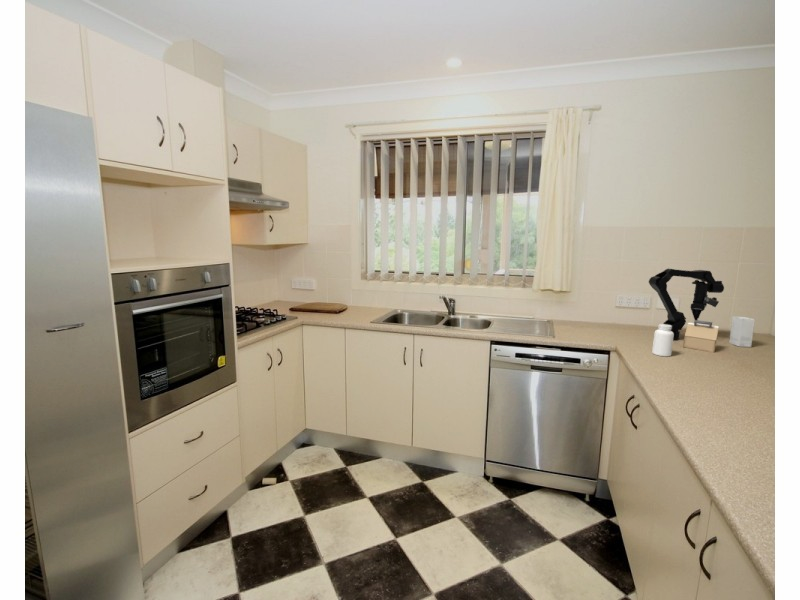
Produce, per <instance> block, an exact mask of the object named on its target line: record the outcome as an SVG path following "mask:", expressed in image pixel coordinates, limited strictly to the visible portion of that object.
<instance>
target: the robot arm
mask: <svg viewBox="0 0 800 600" xmlns="http://www.w3.org/2000/svg"><path fill="white" fill-rule="evenodd" d="M673 277H681V278H682V277H683V278H690V279H695V280H694V281H692V282H691V284H692V285H695V287H694V293H693V298H692V299H693V301H692V303H690V307H689V308H690V310H691V313H692V317H693V319H694V321H695V320H698V321H699V318H700V316H701V313H702V312H703V311H704V310H706V309H705V308H707V306H708V305H710V306H712V307H714V308H716V307H717V306H718V305H719V303H720V301H719V300H717V297H709V296H708V293H712V294H713V293H714V294H715V293H716V294H717V293H718V294H720V293H723V292H724V290H725V286H724V284H723V281H722V280H715V277H714V276H713V274H712V272H711V271H710V270H704V269H694V270H682V269H676V268H675V269H673V268H666V269H664V270H662V271H661V272H659V273H657V274H655V275H654V276H653V275H652V276H651V277H650V278H649V280H648V284H649V285H650V287H651V288H652V289H653V290H654V291H655V292H656V293H657V294H658V297H659V299H660V301H661V302H662V304H663V306H664V308H665V310H666V312H667V320H665V321H664V322H663V323H662V324H666V325H671V326H672V329H671V330H670V331H672V332H673V333H674V337H673V341H678V340H679V339H680V335H681V331H682V329H683V327H684V326H685V325H686V323H687V321H686V320H687V318H686V317H685V314H684V312H681V311H678V310H677V307H676V306H675V303H674V301H673V300H672V298H671V296H670V294H669V292H668V290H667V289H668V284H667V283H668V282H670V280H671V279H672V278H673ZM707 304H708V305H707Z"/></svg>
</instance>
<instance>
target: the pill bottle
mask: <svg viewBox="0 0 800 600" xmlns="http://www.w3.org/2000/svg"><path fill="white" fill-rule="evenodd" d="M671 329H672V326H671V325H666V324H663V323H659V324H658V329H656V330H655V331H654V335H653V343H652V349H651V352H652V354H653V355H654V356H660V357H671V356H672V350H673V343H674V340H673V337H674V333H673V332H672V331H670V330H671Z"/></svg>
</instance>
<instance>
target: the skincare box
mask: <svg viewBox="0 0 800 600" xmlns="http://www.w3.org/2000/svg"><path fill="white" fill-rule="evenodd" d="M755 320H756V319H754V318H751V317H747V316H736V315H735V316H732V318H731V327H730V333H729V340H728V341H729V344H731V345H734V346H737V347H743V348H752V344H753V343H752V342H753V336H754V335H753V334H754V329H755V322H756V321H755Z"/></svg>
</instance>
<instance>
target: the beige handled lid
mask: <svg viewBox="0 0 800 600" xmlns="http://www.w3.org/2000/svg"><path fill="white" fill-rule="evenodd" d="M718 332H719V325H713V321H705V320H699V319H698V320H695V319H694V322H687V326H686V330H685V334H684V337H685V336H686V337H693V338H700V339H706V340H713V341H716V338H717V339H718ZM716 342H717V341H716Z"/></svg>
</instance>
